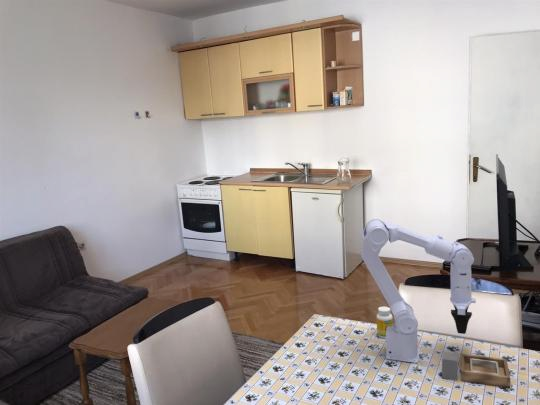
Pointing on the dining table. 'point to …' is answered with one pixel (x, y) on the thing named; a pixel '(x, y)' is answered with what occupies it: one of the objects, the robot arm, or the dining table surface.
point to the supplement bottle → (383, 321)
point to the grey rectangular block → (450, 366)
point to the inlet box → (485, 370)
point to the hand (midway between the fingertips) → (461, 327)
